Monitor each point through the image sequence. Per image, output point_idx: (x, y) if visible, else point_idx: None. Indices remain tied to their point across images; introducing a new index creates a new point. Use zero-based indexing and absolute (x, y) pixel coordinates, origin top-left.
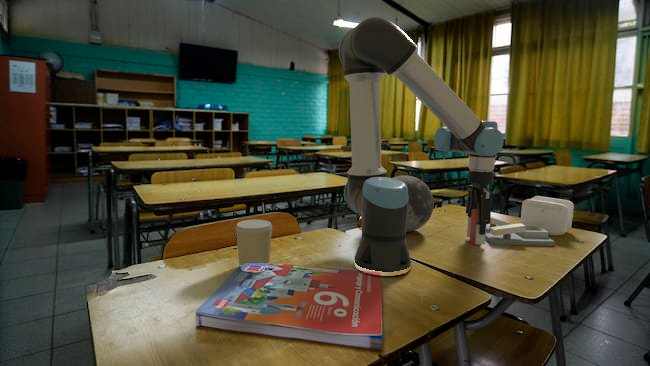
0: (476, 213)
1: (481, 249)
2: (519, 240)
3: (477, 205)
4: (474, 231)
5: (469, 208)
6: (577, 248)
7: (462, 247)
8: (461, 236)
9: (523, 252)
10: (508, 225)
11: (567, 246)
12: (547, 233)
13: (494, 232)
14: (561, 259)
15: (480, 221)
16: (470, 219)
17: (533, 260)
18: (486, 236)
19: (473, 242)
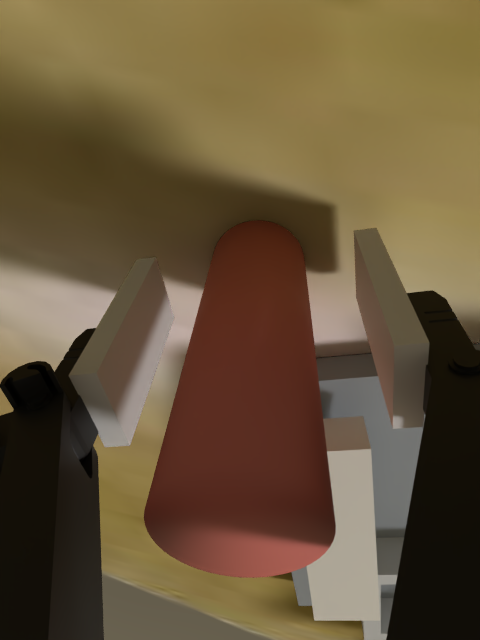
0: (157, 471)
1: (112, 276)
2: None
3: (44, 627)
4: (201, 304)
5: (463, 460)
6: (280, 621)
7: (103, 133)
8: (460, 185)
9: (150, 465)
10: (360, 556)
11: (301, 608)
12: (362, 627)
13: None
14: (109, 547)
15: (14, 421)
16: (388, 350)
17: None
18: (361, 373)
19: (215, 250)
